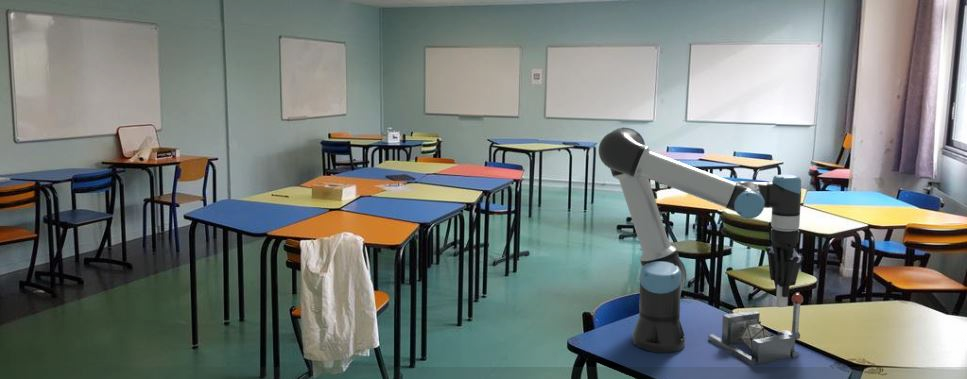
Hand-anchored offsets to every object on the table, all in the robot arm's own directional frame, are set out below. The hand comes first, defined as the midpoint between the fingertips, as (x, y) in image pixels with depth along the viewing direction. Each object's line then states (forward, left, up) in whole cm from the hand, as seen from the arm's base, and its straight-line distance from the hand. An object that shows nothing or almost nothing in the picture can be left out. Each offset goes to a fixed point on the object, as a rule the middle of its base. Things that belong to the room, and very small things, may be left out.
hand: (781, 306), depth 204 cm
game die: (+3, -11, -11) cm, 16 cm away
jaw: (-3, -12, -11) cm, 16 cm away
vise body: (+2, -11, -11) cm, 15 cm away
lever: (+6, 0, -8) cm, 10 cm away
